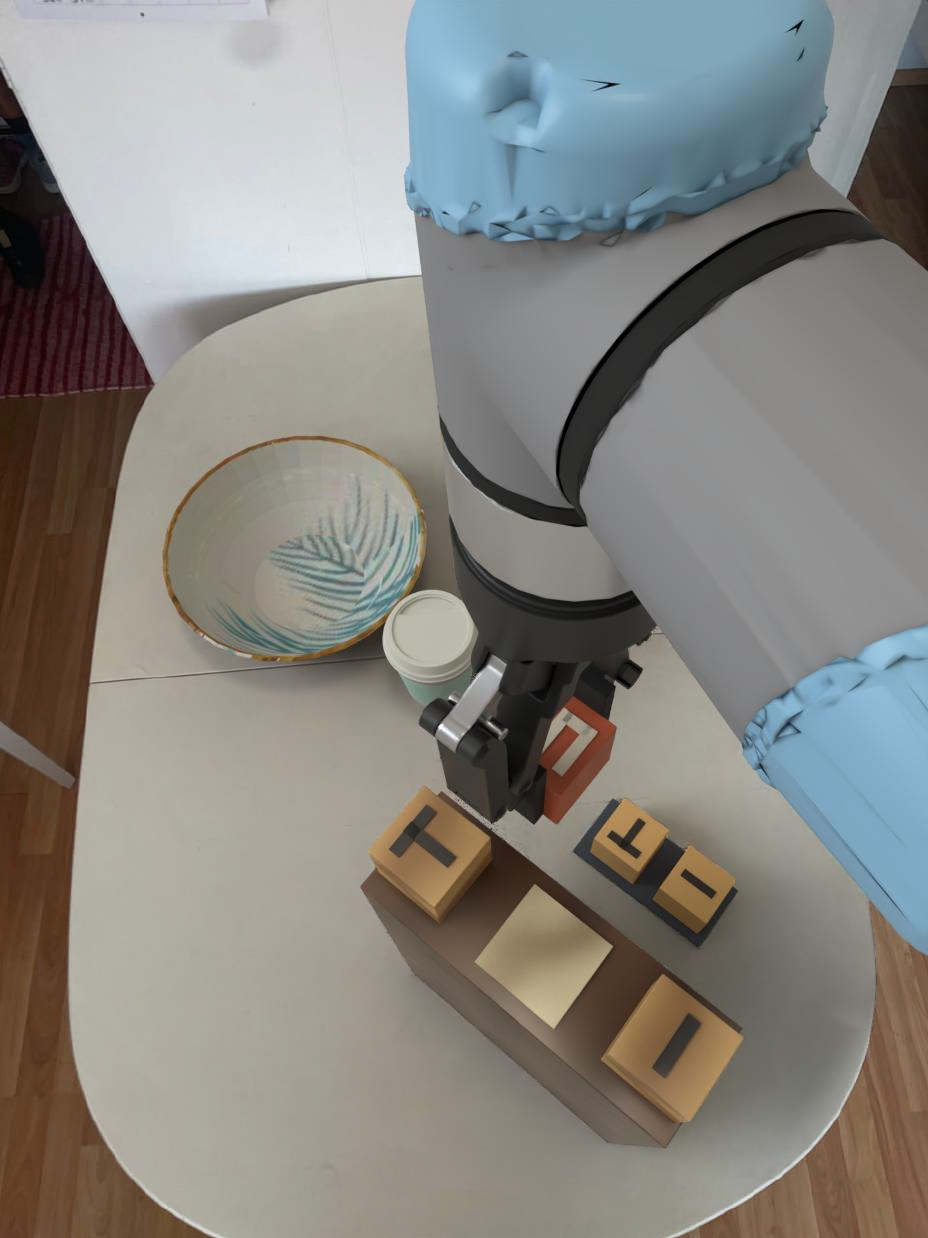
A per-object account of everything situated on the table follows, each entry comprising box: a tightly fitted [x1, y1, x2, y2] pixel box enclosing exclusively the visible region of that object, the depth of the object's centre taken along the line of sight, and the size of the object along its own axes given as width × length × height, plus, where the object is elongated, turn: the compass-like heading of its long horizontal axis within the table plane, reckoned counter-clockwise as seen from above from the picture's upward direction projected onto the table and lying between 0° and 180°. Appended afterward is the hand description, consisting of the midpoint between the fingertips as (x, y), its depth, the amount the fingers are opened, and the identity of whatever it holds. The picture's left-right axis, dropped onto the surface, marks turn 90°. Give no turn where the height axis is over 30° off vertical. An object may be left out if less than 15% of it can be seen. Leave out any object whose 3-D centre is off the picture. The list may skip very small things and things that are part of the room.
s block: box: [539, 696, 618, 825], centre depth 49 cm, size 4×4×5 cm
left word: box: [572, 797, 739, 949], centre depth 83 cm, size 13×6×5 cm, turn 51°
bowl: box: [162, 435, 428, 663], centre depth 97 cm, size 25×25×8 cm
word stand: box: [359, 785, 745, 1150], centre depth 64 cm, size 20×7×37 cm, turn 51°
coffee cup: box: [382, 589, 478, 710], centre depth 89 cm, size 8×8×12 cm
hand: (549, 764), depth 50 cm, fingers closed on s block, 4 cm apart
